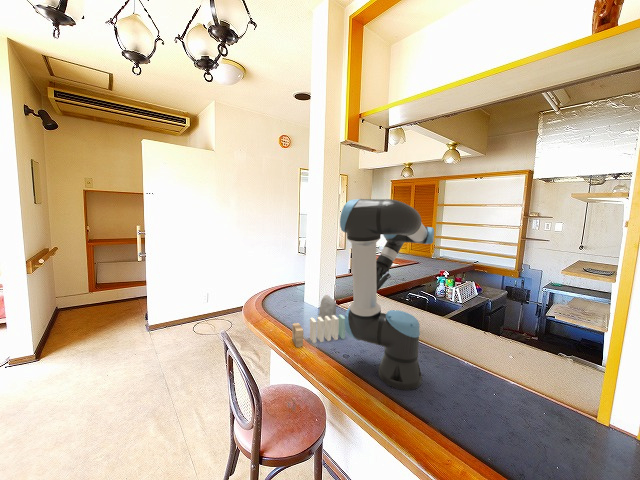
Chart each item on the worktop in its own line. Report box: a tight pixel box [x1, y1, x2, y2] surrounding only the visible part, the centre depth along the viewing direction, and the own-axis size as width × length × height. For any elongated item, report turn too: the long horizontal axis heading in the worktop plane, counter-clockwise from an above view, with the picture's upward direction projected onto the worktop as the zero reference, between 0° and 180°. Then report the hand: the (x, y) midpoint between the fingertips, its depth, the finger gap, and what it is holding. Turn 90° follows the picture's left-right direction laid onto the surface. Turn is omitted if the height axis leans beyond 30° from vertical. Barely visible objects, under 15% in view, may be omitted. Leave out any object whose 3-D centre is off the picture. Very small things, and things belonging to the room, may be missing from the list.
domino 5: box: [337, 314, 346, 340], centre depth 128 cm, size 5×2×10 cm, turn 19°
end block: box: [291, 322, 304, 348], centre depth 121 cm, size 8×3×8 cm, turn 19°
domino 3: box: [324, 316, 332, 342], centre depth 125 cm, size 5×2×10 cm, turn 19°
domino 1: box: [309, 317, 317, 344], centre depth 123 cm, size 5×2×10 cm, turn 19°
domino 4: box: [331, 315, 339, 341], centre depth 126 cm, size 5×2×10 cm, turn 19°
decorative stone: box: [318, 294, 337, 321], centre depth 141 cm, size 11×6×15 cm, turn 41°
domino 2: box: [316, 316, 325, 343], centre depth 124 cm, size 5×2×10 cm, turn 19°
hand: (363, 299), depth 129 cm, fingers closed
